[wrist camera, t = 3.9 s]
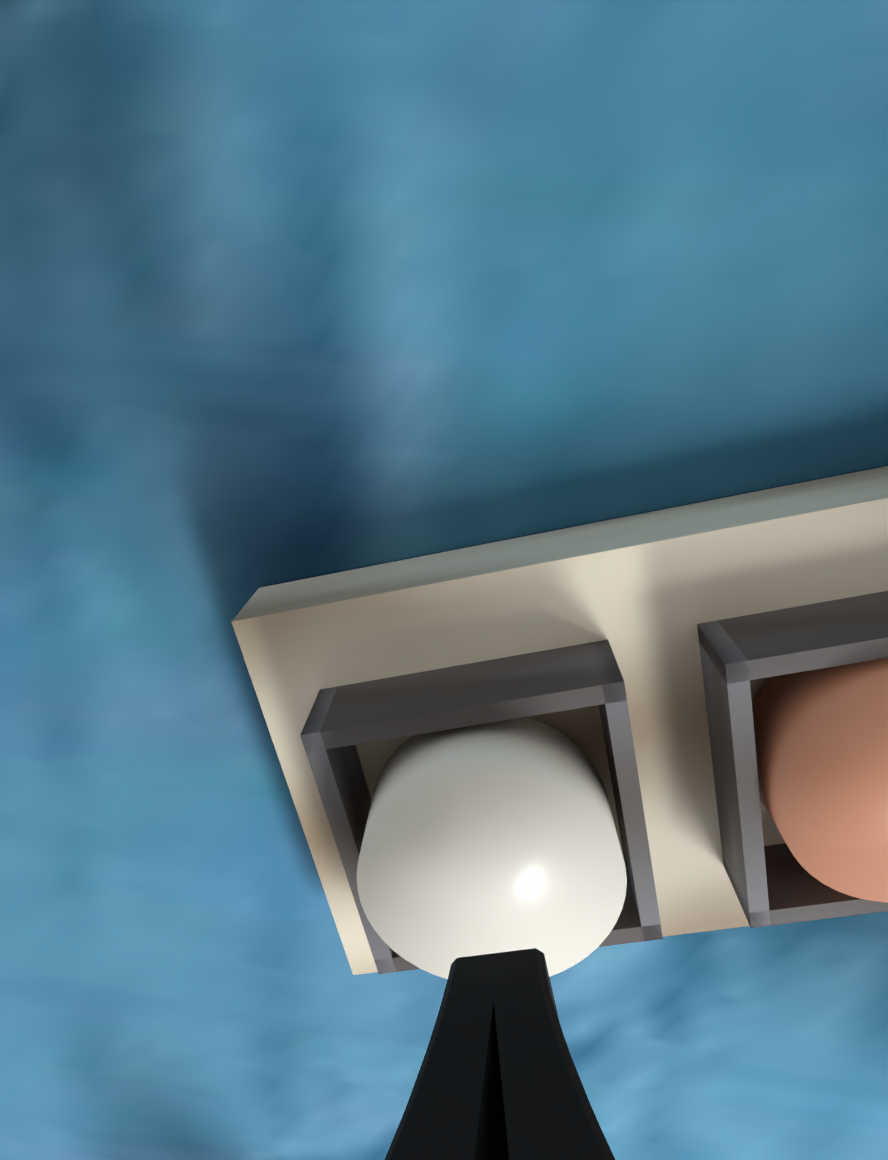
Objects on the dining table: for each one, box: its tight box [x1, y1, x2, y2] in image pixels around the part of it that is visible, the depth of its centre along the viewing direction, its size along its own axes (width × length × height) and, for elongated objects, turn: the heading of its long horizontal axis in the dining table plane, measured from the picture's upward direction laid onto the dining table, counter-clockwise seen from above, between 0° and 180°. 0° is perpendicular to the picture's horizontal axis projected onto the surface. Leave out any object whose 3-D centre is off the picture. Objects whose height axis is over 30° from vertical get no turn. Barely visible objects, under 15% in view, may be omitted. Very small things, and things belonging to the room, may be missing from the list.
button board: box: [232, 466, 888, 975], centre depth 15 cm, size 10×25×4 cm, turn 102°
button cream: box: [357, 717, 627, 979], centre depth 14 cm, size 5×5×2 cm
